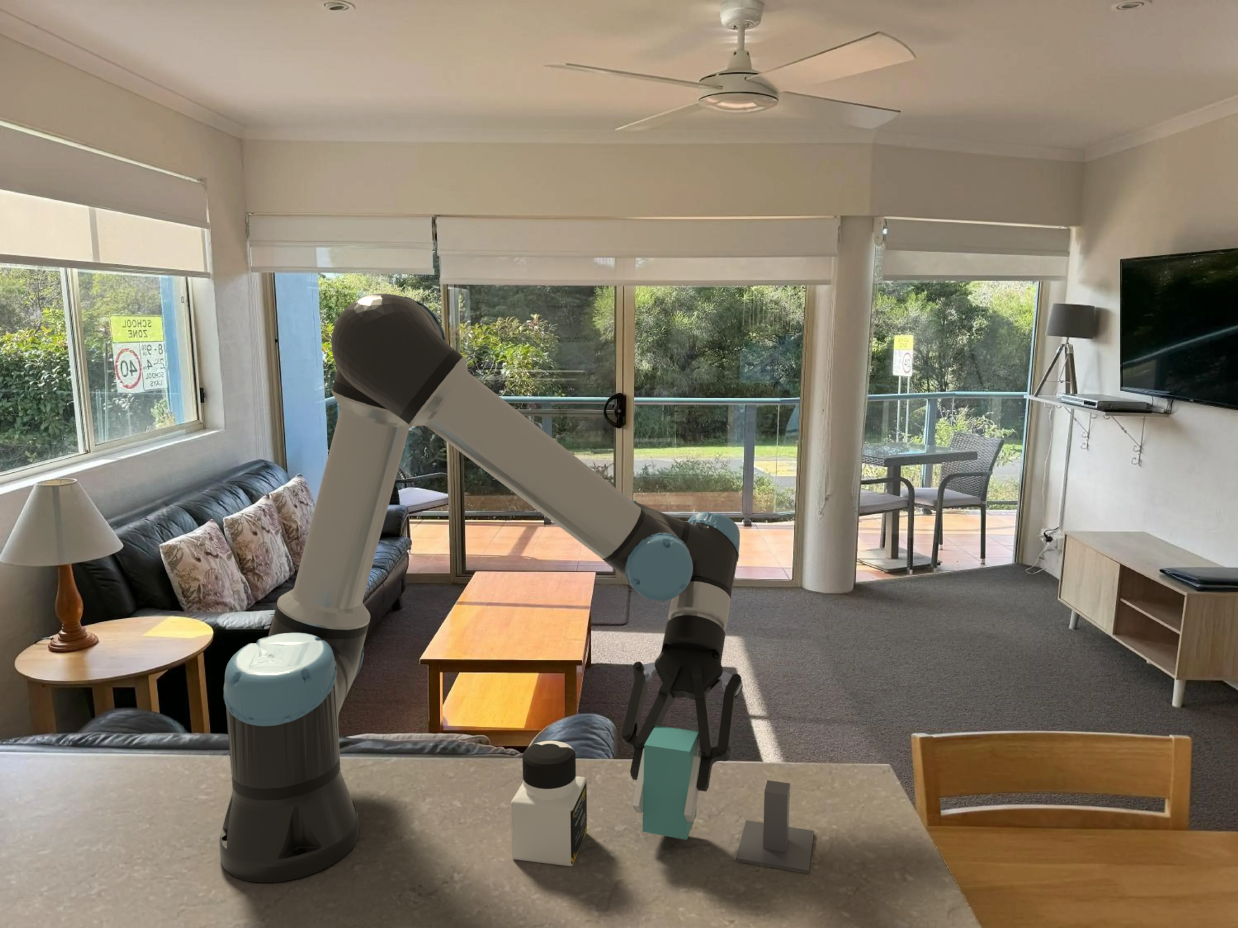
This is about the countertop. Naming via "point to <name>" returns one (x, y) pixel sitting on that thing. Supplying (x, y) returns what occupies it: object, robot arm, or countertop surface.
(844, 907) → the countertop surface
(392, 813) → the countertop surface
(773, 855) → the grey square base plate
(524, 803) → the medicine bottle
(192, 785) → the countertop surface
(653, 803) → the tall teal pillar
